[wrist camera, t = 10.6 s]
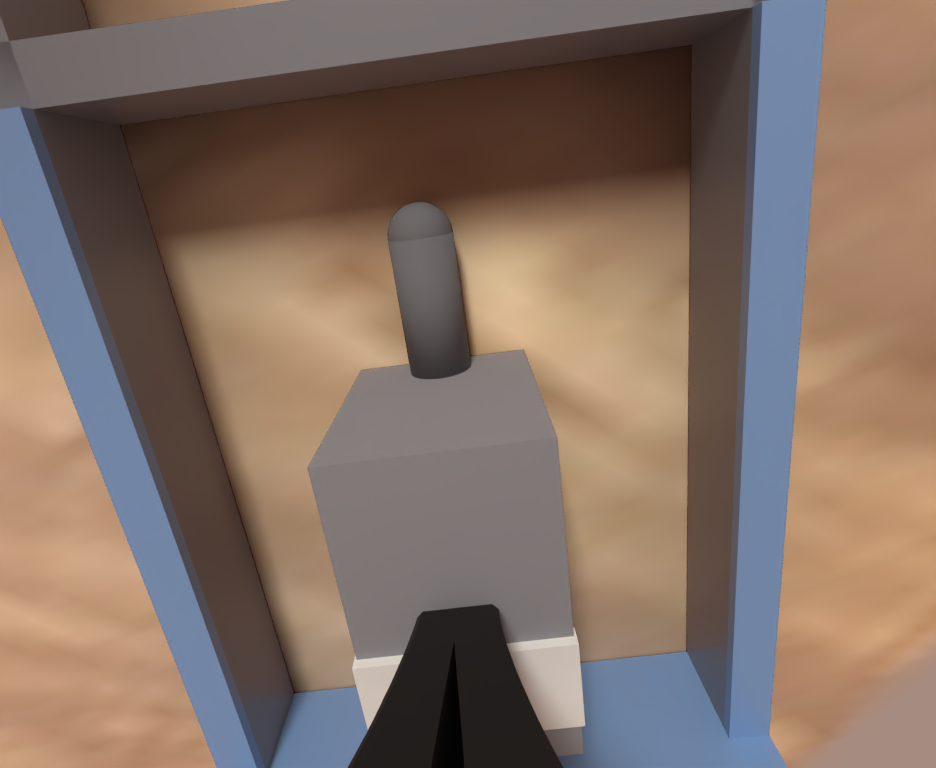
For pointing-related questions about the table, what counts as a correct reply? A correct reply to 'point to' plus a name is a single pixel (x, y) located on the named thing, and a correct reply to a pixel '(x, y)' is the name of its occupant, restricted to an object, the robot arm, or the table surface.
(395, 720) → the robot arm
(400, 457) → the cord plug
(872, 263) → the table surface
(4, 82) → the grey divided rectangular frame
